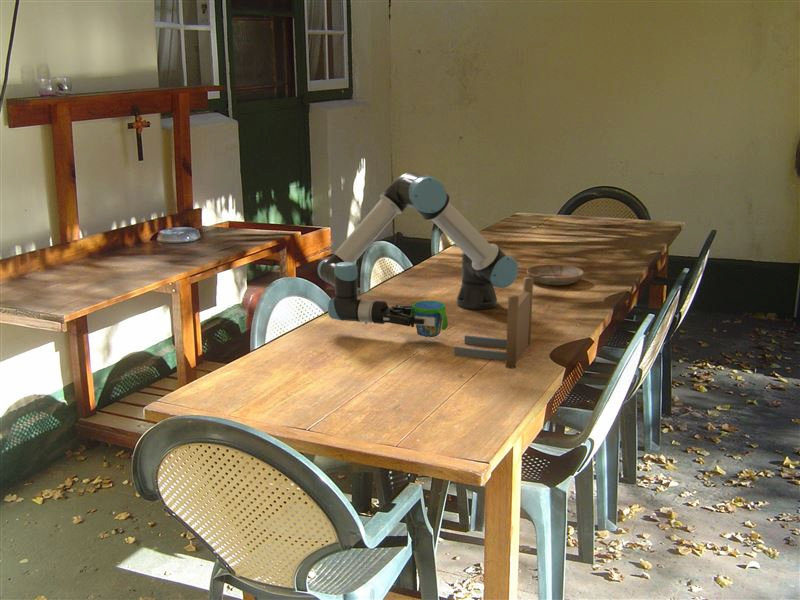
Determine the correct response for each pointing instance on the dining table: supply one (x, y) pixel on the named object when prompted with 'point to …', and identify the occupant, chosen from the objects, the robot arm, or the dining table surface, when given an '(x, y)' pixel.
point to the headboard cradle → (515, 331)
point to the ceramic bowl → (555, 274)
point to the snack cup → (430, 310)
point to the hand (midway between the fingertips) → (439, 317)
